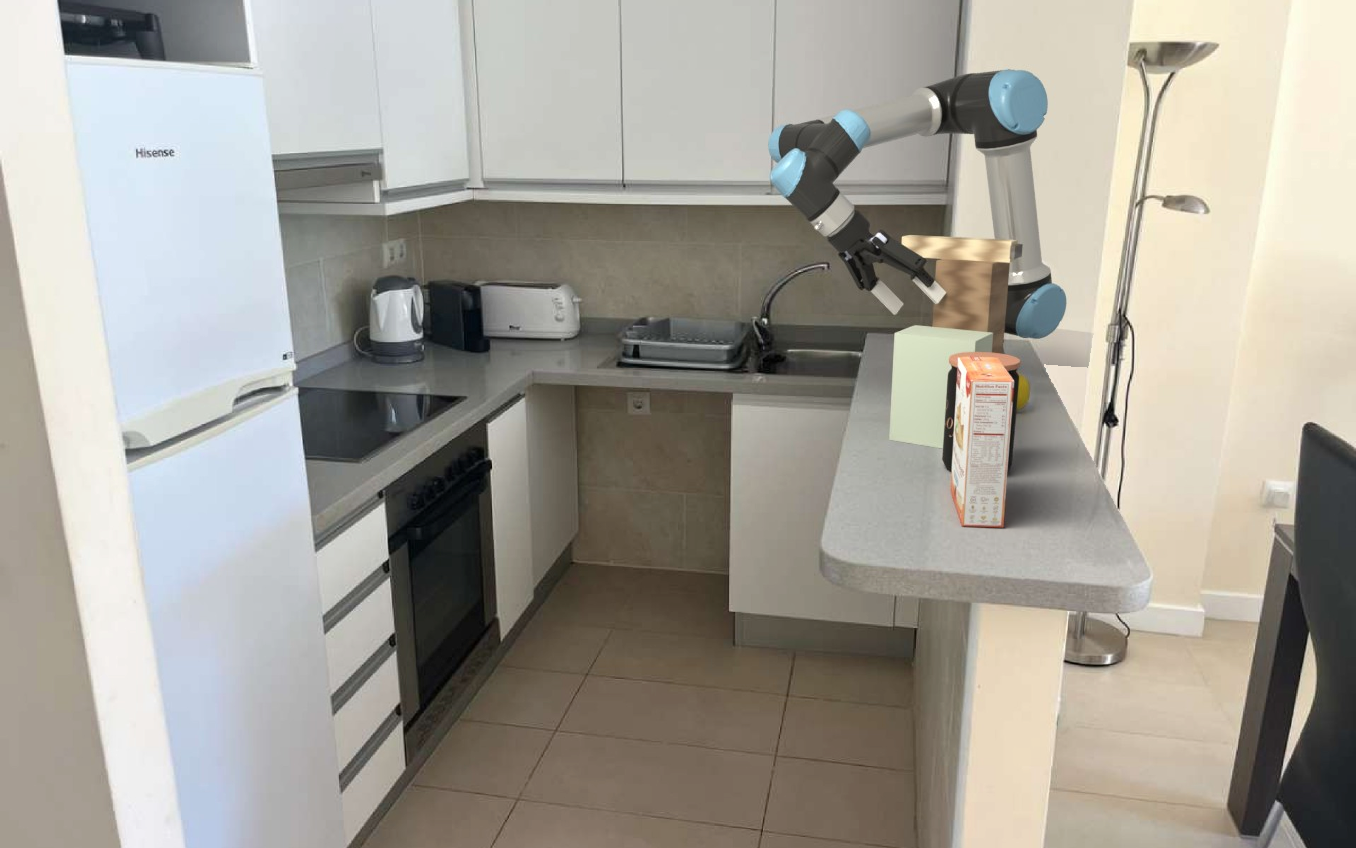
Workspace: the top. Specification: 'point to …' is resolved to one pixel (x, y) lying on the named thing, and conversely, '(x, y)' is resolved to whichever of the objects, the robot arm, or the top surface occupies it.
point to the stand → (973, 297)
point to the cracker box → (981, 441)
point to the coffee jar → (1006, 360)
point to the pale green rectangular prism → (926, 380)
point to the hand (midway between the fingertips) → (919, 304)
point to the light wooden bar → (964, 248)
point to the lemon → (1022, 392)
